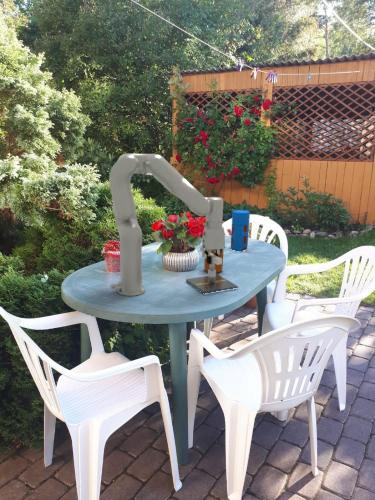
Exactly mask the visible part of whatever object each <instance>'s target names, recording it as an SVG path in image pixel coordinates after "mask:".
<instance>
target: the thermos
mask: <svg viewBox="0 0 375 500" xmlns="http://www.w3.org/2000/svg"><path fill="white" fill-rule="evenodd" d="M231 216H232V217H231V231H230V232H231V233H230V250H231V249H232V250H235V251H243V250H246V249H247V250H248V244H249V230H250V217H251V213H250V211H249V210H244V209H239V210H233V211H232V215H231ZM232 250H231V251H232ZM235 251H234V252H235Z"/></svg>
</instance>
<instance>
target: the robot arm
mask: <svg viewBox="0 0 375 500" xmlns="http://www.w3.org/2000/svg"><path fill="white" fill-rule="evenodd" d="M134 174H150V175H151V176H153V178H155V179H156V180H157V181H158V182H159V183H160V184H161V185H162V186H163V187H164V188H165V189H166V190H167V191H168V192H170V193H171V194H172V195H174V196H175V197H177V198H178V199H180V200H181V201H182V202H183V203H184V204H185V205H187V207H188V209H189V210H190V212H192V213H194V214H196V215H197V216H200V217H204V216H205V222H203V224H202V225H203V226H204V228H203V232H202V239H201V240H202V241H201V246H200V249H199V250H200V251H201V253H202V252H204V253H205V254H206V262H207V263H208V264H211V256H210V255H211V250H215V254H214V255H216V256H218V257H219V255H220V253H221V251H222V250H223V251H224V250H225V249H227V248H226V236H225V235H226V233H225V228H224V227H223V216H224V215H223V214H224V212H223V211H224V198H222V197H221V196H219V197H218V196H209V197H205V195H202V193H201V192H200V191H199V190H198V189H197V188H195V187H194V186H193V185H192V184H191V183H190V182H189V181H188V180H187V179H186V178H185V177H184V176H183V175H182V174H181V173H180V172H179V171H177V169H176V168H175V167H174V166H173V165H171V163H170V162H168V161H167V160H166V158H165V157H164V156H162V155H160V154H157V153H123V154H122V155H120V156H119V157H118V159H117V161H116V162H115V163H113V166H112V168H111V170H110V172H109V178H108V179H109V187H110V193H111V197H112V210H113V215H114V219H115V224H116V227H117V232H118V234H119V235H118V236H119V265H120V266H119V269H120V280H118V283H116V284H115V283H113V284H110V285H109V288H110V290H113V289H114V290H115V291H116V290H117V293H118V294H119V295H121V296H129V297H132V296H138V295H139V296H140V295H143V294H144V293H145V292H146V286H144V285H143V272H142V271H143V255H142V251H143V250H142V248H143V247H142V246H143V232H142V227H141V226H140V225H139V222H138V217H137V213H136V211H137V210H136V209H137V207H136V204H135V199H134V196H133V191H132V185H131V179H132V176H133V175H134ZM205 249H206V250H205Z"/></svg>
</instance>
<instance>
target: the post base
mask: <svg viewBox="0 0 375 500" xmlns="http://www.w3.org/2000/svg"><path fill="white" fill-rule="evenodd" d="M185 283H186V284H188V283H189V284H188V285H190V286H191V285H192V286H193V287H192V286H191V287H192V288H194V287H195V288H196V289H198V290H199V291H201V292H202V293H204V294H205V293H211V292H216V291H221V290H227V289H233V288H238V289H239V286H238V285H236V284H235V283H233V282H231V281H230V280H228V279H226V278H225V277H223V276H221V275H220V274H217V273H216V269H214V270H211V269H208V272H207V275H205V276H199V277H192V278H186V279H185ZM195 288H194V289H195ZM196 289H195V290H196ZM198 290H197V291H198ZM199 291H198V292H199ZM202 293H201V294H202Z"/></svg>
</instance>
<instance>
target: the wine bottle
mask: <svg viewBox="0 0 375 500" xmlns="http://www.w3.org/2000/svg"><path fill="white" fill-rule="evenodd" d="M204 250H206V249H205V248H204ZM211 253H212V254H215V250H211ZM219 257H220V258H222V264H220V265H217V264H215V269H216V274H219V273H220V272H222V271H223V263H224V250H222V251H221V253H220V255H219ZM203 263H204V266H203V267H204V271H205V272H207V273H208V269H210V264H208V263H207V262H206V258H204V262H203Z"/></svg>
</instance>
